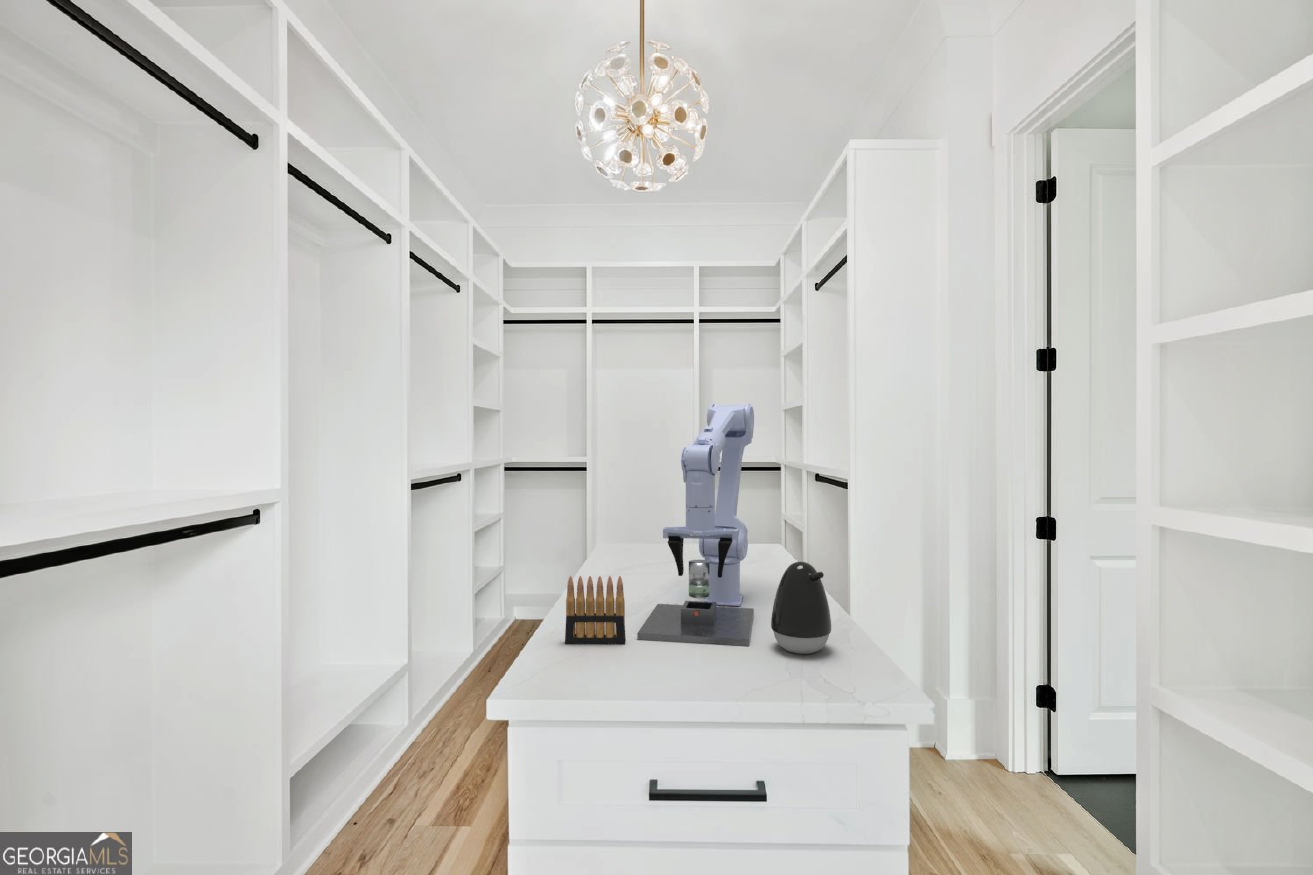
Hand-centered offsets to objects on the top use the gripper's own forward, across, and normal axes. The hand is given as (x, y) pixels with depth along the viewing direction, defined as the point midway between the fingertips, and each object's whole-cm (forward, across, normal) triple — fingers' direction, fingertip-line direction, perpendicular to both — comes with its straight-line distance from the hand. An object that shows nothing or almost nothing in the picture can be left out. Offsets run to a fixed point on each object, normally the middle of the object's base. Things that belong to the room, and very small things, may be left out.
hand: (700, 575), depth 131 cm
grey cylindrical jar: (+3, 0, -2) cm, 4 cm away
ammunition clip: (+10, -17, -15) cm, 25 cm away
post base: (+9, 0, -2) cm, 9 cm away
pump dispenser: (+10, +19, -12) cm, 24 cm away
